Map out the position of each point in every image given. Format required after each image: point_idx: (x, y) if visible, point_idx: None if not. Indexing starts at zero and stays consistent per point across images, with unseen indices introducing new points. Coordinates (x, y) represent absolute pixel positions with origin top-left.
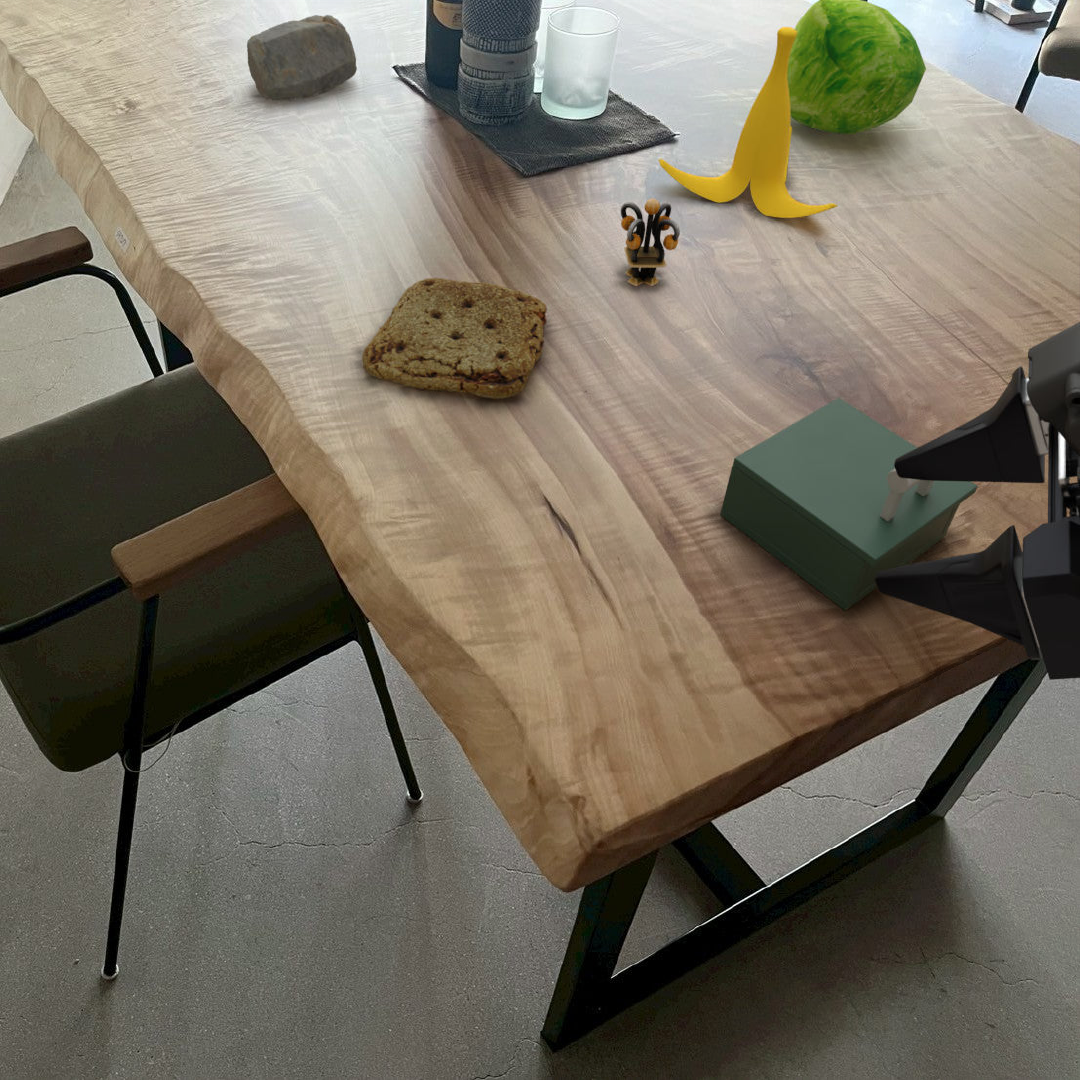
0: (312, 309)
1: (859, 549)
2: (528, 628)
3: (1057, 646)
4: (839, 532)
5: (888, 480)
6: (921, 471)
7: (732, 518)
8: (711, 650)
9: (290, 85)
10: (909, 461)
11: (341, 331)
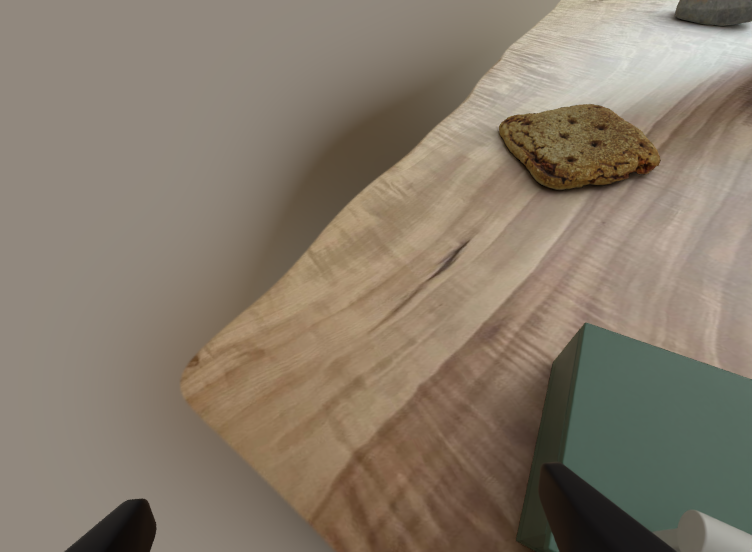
0: (528, 94)
1: None
2: (338, 277)
3: None
4: None
5: (684, 515)
6: (566, 543)
7: (552, 372)
8: (380, 408)
9: (695, 9)
10: (561, 495)
11: (524, 109)
